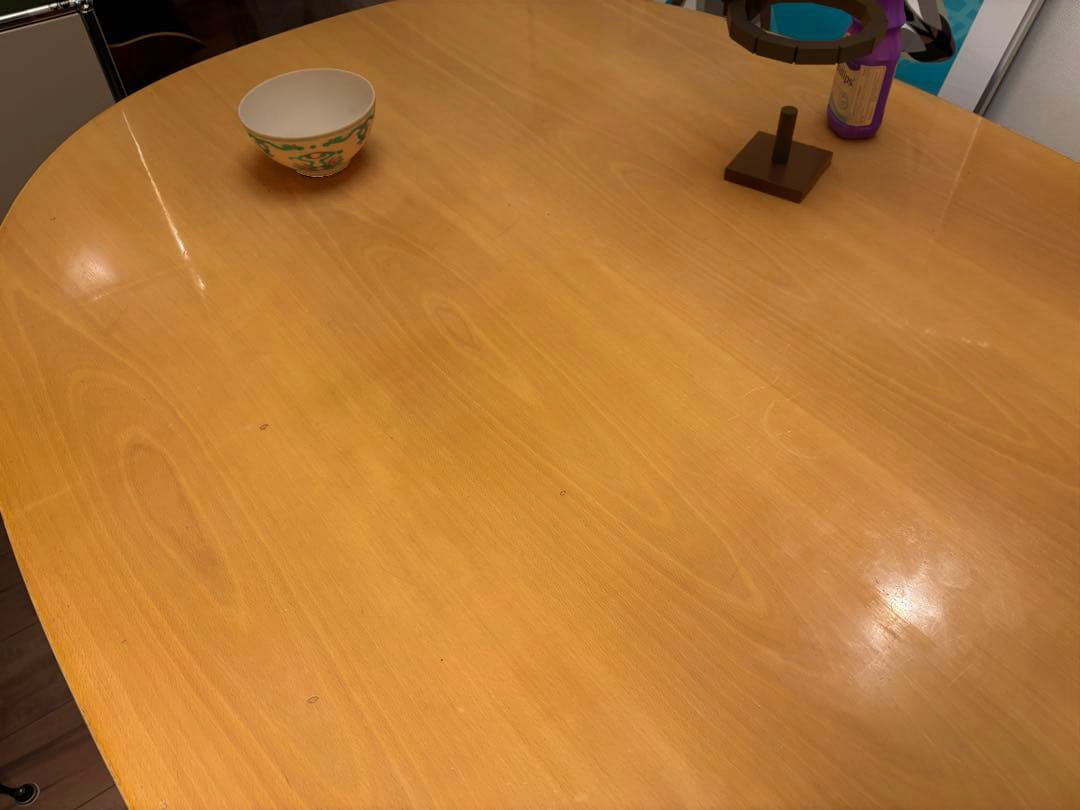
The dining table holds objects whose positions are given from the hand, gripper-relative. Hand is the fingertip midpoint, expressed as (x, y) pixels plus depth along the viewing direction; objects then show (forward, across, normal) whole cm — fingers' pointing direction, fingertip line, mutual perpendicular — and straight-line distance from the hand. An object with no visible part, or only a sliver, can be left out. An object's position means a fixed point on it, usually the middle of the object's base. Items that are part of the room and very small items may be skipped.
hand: (742, 12), depth 88 cm
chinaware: (+17, +39, +25) cm, 49 cm away
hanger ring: (0, -7, 0) cm, 7 cm away
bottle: (+16, -10, -13) cm, 23 cm away
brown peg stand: (+16, -7, 0) cm, 18 cm away
